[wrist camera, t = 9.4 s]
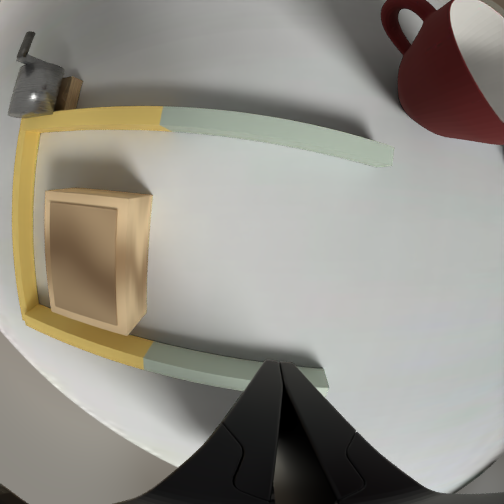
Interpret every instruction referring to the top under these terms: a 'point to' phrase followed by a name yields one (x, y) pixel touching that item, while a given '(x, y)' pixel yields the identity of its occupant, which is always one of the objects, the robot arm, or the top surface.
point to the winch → (41, 86)
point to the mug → (452, 68)
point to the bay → (175, 120)
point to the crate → (98, 256)
